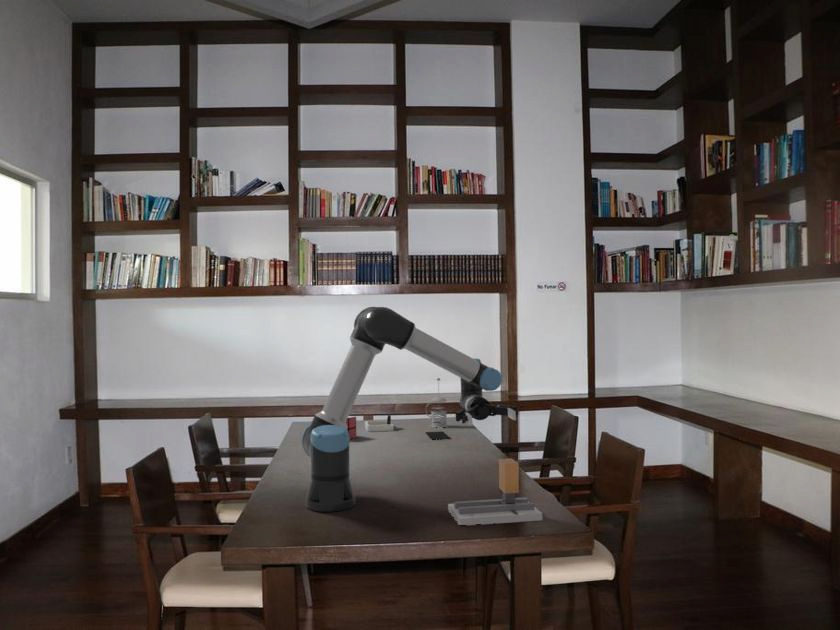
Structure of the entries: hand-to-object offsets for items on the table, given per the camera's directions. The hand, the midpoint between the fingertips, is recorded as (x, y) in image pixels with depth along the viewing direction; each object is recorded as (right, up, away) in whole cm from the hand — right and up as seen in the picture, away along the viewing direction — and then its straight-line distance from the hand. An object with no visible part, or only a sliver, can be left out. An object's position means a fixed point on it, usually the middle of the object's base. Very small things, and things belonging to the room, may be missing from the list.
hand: (492, 418), depth 197 cm
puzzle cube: (-59, -27, +106) cm, 124 cm away
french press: (-14, -26, +135) cm, 138 cm away
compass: (-41, -26, +128) cm, 137 cm away
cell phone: (-14, -27, +109) cm, 113 cm away
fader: (+4, -24, -10) cm, 26 cm away
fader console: (-1, -26, -10) cm, 28 cm away
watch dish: (-43, -26, +129) cm, 139 cm away
